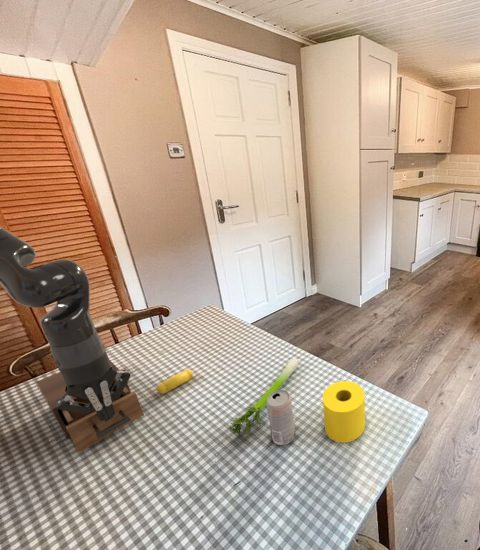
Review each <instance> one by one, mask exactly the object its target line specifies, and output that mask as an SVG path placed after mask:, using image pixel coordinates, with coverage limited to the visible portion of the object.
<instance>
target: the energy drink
mask: <svg viewBox="0 0 480 550" xmlns="http://www.w3.org/2000/svg"><path fill="white" fill-rule="evenodd" d="M292 402H293V401H292V397H291V395H290V393H289V391H287V390H285V389H279V390H277V391H274V392H272V393H271V394H270V395H269V396H268V398H267V404H266V409H267V415H268V419H269V420H268V421H269V427H270V432H271V439H272V442H273V443H274V444H275V445H277V446H286V445H288V444H290V443H291V442H292V441H294V439H295V437H296V427H295V419H294V409H293V403H292Z"/></svg>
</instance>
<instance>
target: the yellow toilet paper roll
mask: <svg viewBox="0 0 480 550" xmlns="http://www.w3.org/2000/svg"><path fill="white" fill-rule="evenodd" d="M365 399H366V394H365V390H364V388H363V387H362V386H361V385H360V384H358V383H356V382H354V381H351V380H340V381H336V382H333V383H331V384H330V385H328V386H327V387H326V388H325V390H324V391H323V393H322V406H323V407H322V409H323V410H322V411H323V423H324V430H325V431H324V432H325V434H326V436H328V438H329V439H330V440H332V441H334V442H336V443H350V442H351V443H352V442H354V441H356V440H357V439H359V438H360V437H361V436H362V434H363V433H364V431H365V429H366V400H365Z"/></svg>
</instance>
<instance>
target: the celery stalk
mask: <svg viewBox="0 0 480 550" xmlns="http://www.w3.org/2000/svg"><path fill="white" fill-rule="evenodd" d="M300 363H301V361H300V360H299V359H298V358H290V359H289V360H288V362H287V364H286V366H285V367H284V369H283V370H282V371H281V373H280V374H279V375H278V377H277V378H276V380H275V381H274V382H273V384H272V385H271V386H270V387H269V388H268V390H267V391H265V392H264V394H263V395H262V396H261V397H260V398H259V399H258V400H257V401H256V402H255V403H254V404H253V405H252V406H250V405H249V406H246V407H245V409H246V410H247V411H246V412H245V413H244V414H242V416H241V417H235V419H234V420H232V422H230V425H231V426H230V427H229V429H230V431H229V432H232V433H233V434H235V435H236V434H237V435H239V436H240V435H241V434H242V431H241V430H242V425H243V424H245V426H244V431H245V432H244V436H246V437H247V436H248V434H249V433H250V432H251V431H252V426H253V424H254V423H256V425H258V426H259V427H260V426H261V425H262V421H261V412H262V411H263V409H264V408H265V407H266V406H267V398H268V396H269V395H270V394H271V393H272V392H274V391H277V390H281V388H282V386H283V385H284V384H285V383H286V381H288V379H289V378H290V376H291V375H292V374H293V372H294V371H295V370H296V369H297V367H298V366H299V365H300ZM251 416H253V419H252V418H251V419H250V417H251Z"/></svg>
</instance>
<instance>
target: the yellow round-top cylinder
mask: <svg viewBox="0 0 480 550" xmlns="http://www.w3.org/2000/svg"><path fill="white" fill-rule="evenodd" d="M193 376H194V372H193V370H191V369H185V370H182V371H181V372H180V371H179V373H176V374H175V375H173V376H171V377H169V378H167V379H165V380H163V381H162V382H160V383H158V385H157V386H156V391H157V393H159V394H163V395H164V394H166V393H168V392H170V391H172V390H174V389H175V388H177V387H179V386H181V385H183V384H185V383H187V382H189V381H190V380H191V379H192V378H193Z"/></svg>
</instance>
